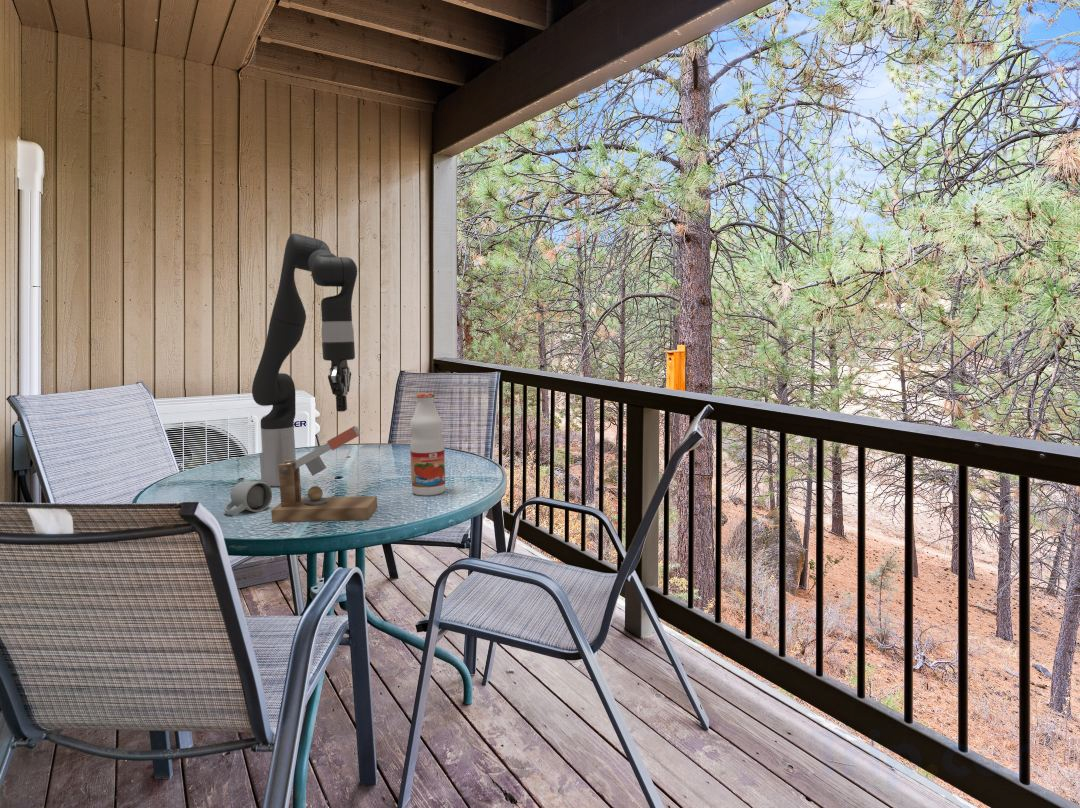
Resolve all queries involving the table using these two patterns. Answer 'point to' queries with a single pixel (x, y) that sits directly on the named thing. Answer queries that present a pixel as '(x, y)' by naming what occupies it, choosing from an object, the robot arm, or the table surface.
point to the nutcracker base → (316, 502)
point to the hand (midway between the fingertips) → (341, 411)
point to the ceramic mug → (249, 497)
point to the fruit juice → (427, 448)
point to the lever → (313, 458)
